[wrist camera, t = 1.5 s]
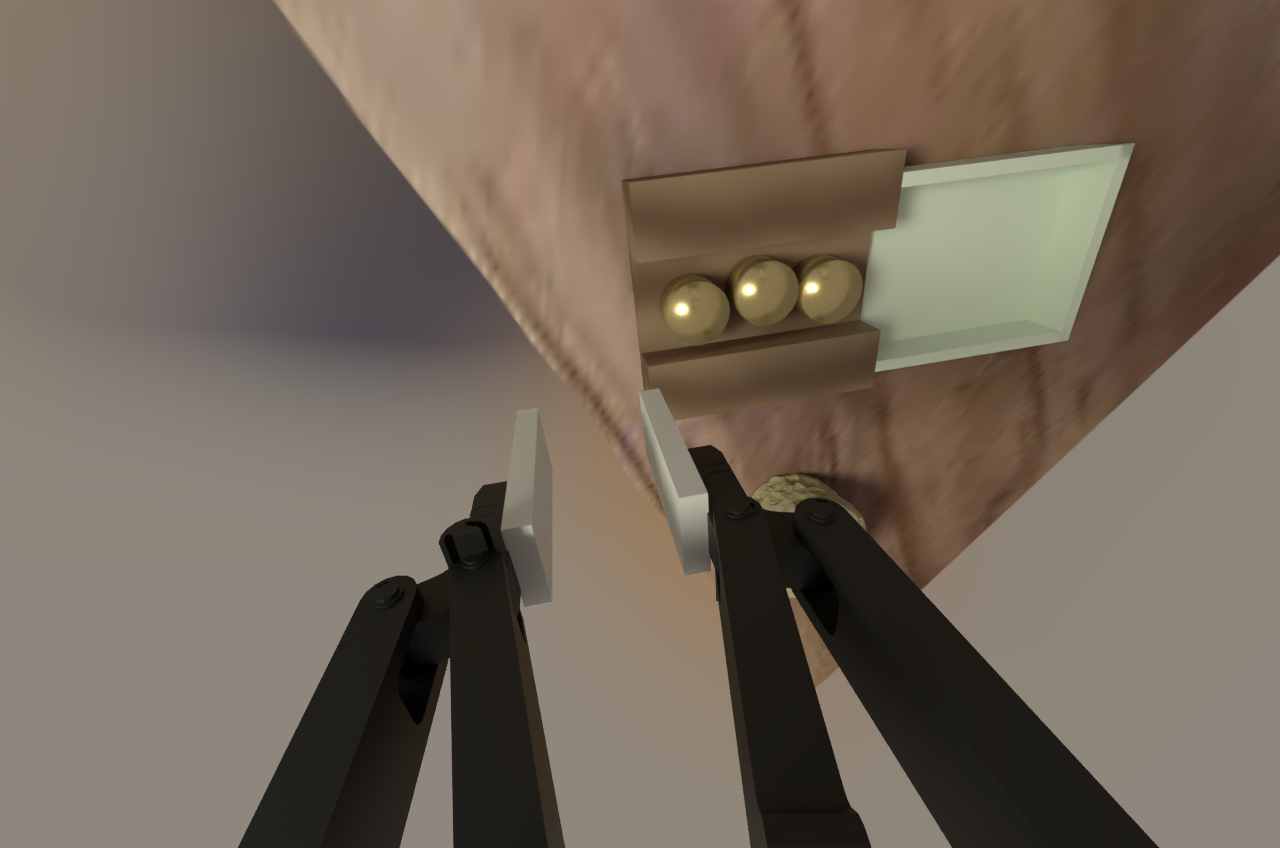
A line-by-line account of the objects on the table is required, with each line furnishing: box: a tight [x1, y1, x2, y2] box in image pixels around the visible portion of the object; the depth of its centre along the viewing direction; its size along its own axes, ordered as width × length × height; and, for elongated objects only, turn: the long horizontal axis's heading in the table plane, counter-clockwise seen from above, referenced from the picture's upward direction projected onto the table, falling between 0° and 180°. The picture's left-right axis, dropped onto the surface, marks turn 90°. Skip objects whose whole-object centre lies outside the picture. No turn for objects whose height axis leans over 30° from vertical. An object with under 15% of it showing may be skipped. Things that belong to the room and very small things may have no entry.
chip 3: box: [793, 254, 863, 324], centre depth 32 cm, size 4×4×2 cm
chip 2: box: [725, 255, 799, 326], centre depth 32 cm, size 4×4×2 cm
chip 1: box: [660, 273, 730, 345], centre depth 32 cm, size 4×4×2 cm
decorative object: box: [752, 473, 867, 598], centre depth 42 cm, size 9×10×10 cm
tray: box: [861, 143, 1135, 372], centre depth 34 cm, size 13×15×4 cm
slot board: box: [622, 149, 907, 420], centre depth 32 cm, size 15×16×4 cm
